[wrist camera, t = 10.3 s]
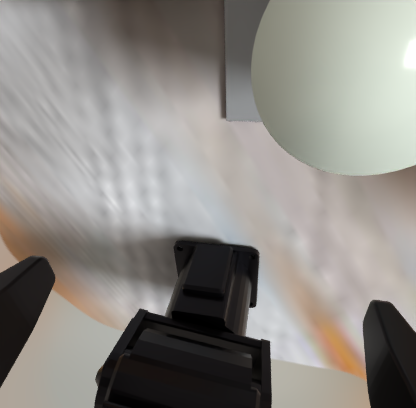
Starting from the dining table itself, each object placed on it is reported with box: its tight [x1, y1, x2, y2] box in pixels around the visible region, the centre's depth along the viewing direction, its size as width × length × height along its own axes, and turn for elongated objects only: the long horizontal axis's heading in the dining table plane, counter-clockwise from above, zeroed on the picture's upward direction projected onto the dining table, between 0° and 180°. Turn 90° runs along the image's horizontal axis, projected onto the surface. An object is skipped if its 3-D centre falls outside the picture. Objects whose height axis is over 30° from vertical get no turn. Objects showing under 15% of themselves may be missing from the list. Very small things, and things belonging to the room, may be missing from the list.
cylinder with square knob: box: [251, 0, 416, 176], centre depth 10 cm, size 7×6×9 cm
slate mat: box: [224, 0, 270, 122], centre depth 14 cm, size 10×10×1 cm
